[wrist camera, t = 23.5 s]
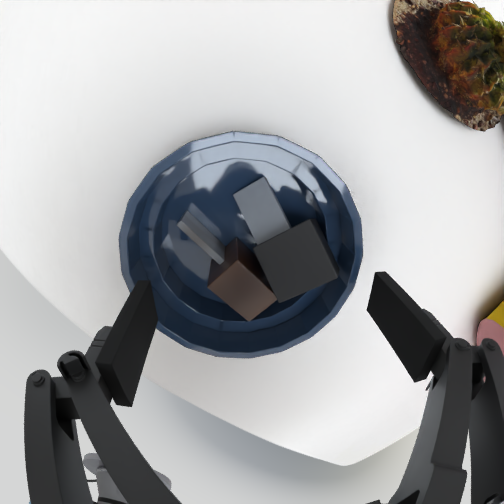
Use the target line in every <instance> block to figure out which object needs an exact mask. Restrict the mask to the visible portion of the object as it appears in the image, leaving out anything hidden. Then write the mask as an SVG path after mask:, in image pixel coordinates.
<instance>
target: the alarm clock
mask: <svg viewBox="0 0 504 504" xmlns="http://www.w3.org/2000/svg"><path fill="white" fill-rule="evenodd" d="M484 338H490V339H493V340H495V341H496V342H497V343H498V344H499V346H500V348H501V351H502V353H503V355H504V300H503V301H502V303H501V304H500V305H499V306H498V307H497V308H496V309H495V310H494V311H493V312H492V313H491V314H490V315H489V316H488V317H487V318H485V319H483V320H482V321H480V324H479V327H478V331H477V346H480V344H481V342H482V340H483V339H484ZM484 382H485V377H484Z"/></svg>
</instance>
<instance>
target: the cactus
mask: <svg viewBox="0 0 504 504" xmlns="http://www.w3.org/2000/svg"><path fill="white" fill-rule="evenodd" d="M472 1H473V0H472ZM393 22H394V26H395V29H396V30H397V37H398V38H397V40H396V43H398V44H400V45H401V51H400V52H401V53H402V55H403V57H404V58H405V59H406V60H407V61H408V63H409V64H410V65H411V67H412V68H413V69H414V71H415V72H416V74H417V76H418V77H419V79H420V80H421V81H422V83H423V84H424V85H425V87H426V88H427V90H428V91H429V92H430V93H431V94H432V96H433V97H434V98H435V99H437V101H438V102H439V103H440V104H441V105H442V106H443V107H444V108H446V109H447V110H449V111H450V112H452V113H453V116H454V117H455V118H456V119H458V120H459V121H461V122H463V123H464V124H466V125H468V126H469V127H471V128H473V129H476V130H479V131H485V130H487V129H490V128H493V127H495V125H496V124H498V123H499V122H500V119H501V116H502V115H503V114H504V22H502V23H503V24H502V23H501V22H500V21H499V22H498V21H496V20H494V18H493V17H492V15H491V14H490V12H487V11H486V10H485V7H483V8H478V6H477V5H476V4H475V3H474V4H472V3H470V1H469V2H464V1H460V0H395V2H394V9H393Z"/></svg>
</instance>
